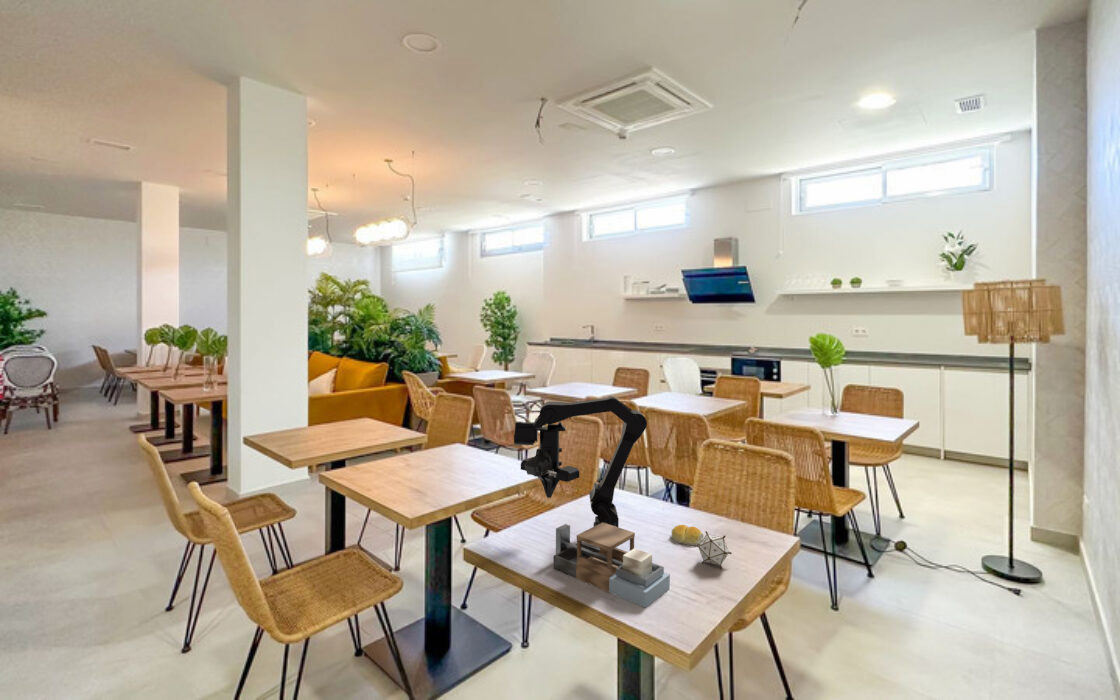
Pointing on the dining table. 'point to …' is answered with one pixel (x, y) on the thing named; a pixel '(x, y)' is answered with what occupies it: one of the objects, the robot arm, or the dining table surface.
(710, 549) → the game die
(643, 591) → the pad
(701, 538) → the bread roll
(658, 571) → the slider
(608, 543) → the tunnel
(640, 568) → the block
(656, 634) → the dining table surface
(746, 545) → the dining table surface
